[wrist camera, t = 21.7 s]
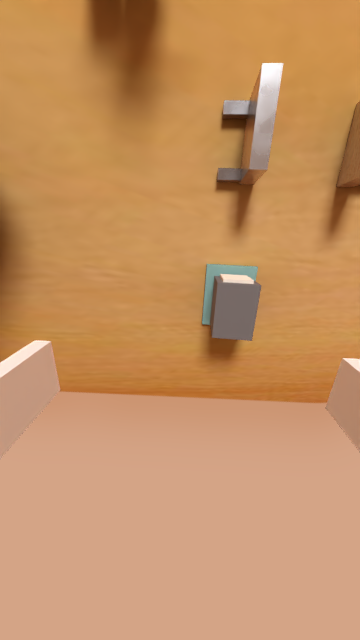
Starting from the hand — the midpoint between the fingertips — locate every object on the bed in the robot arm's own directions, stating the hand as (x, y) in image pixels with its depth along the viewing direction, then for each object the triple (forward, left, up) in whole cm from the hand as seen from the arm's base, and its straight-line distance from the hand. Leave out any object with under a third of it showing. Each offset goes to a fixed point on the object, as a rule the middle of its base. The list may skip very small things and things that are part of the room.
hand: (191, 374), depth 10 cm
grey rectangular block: (+5, -2, -23) cm, 24 cm away
